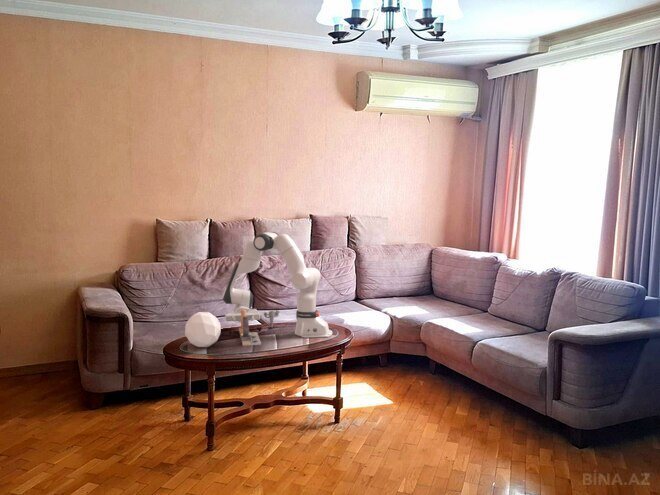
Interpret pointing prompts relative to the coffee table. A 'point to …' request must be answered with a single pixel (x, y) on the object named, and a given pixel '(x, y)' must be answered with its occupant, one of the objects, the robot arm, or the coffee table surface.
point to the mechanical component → (271, 316)
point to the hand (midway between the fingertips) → (243, 319)
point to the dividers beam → (245, 332)
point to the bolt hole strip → (254, 339)
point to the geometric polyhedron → (202, 329)
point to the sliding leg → (243, 313)
